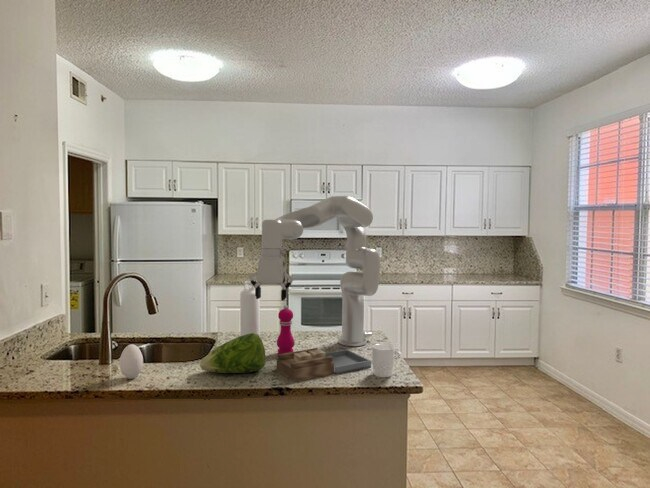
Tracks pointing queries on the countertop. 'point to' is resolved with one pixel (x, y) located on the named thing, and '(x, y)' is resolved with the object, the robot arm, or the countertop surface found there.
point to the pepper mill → (285, 331)
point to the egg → (131, 361)
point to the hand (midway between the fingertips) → (270, 299)
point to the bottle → (249, 311)
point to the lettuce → (236, 356)
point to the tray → (348, 361)
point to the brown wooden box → (304, 366)
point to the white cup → (383, 359)
